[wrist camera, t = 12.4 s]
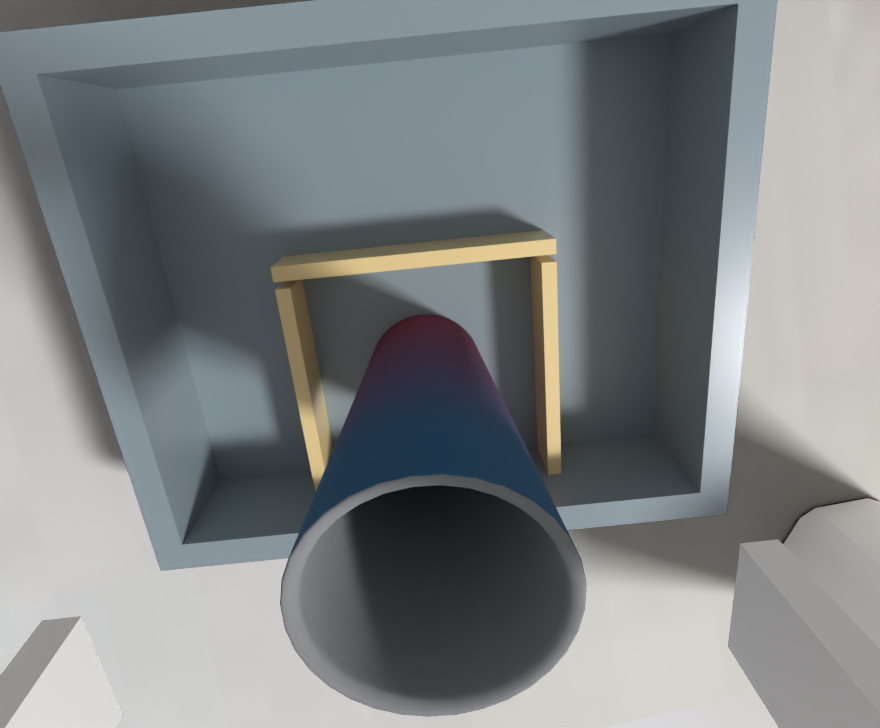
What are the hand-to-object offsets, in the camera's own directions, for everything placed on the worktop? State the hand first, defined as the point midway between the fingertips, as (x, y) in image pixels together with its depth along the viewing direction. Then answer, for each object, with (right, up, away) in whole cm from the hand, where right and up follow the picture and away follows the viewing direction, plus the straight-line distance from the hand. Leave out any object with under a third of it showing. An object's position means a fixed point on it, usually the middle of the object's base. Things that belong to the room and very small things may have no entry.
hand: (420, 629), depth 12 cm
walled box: (-1, +9, +15) cm, 17 cm away
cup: (0, +5, +15) cm, 16 cm away
